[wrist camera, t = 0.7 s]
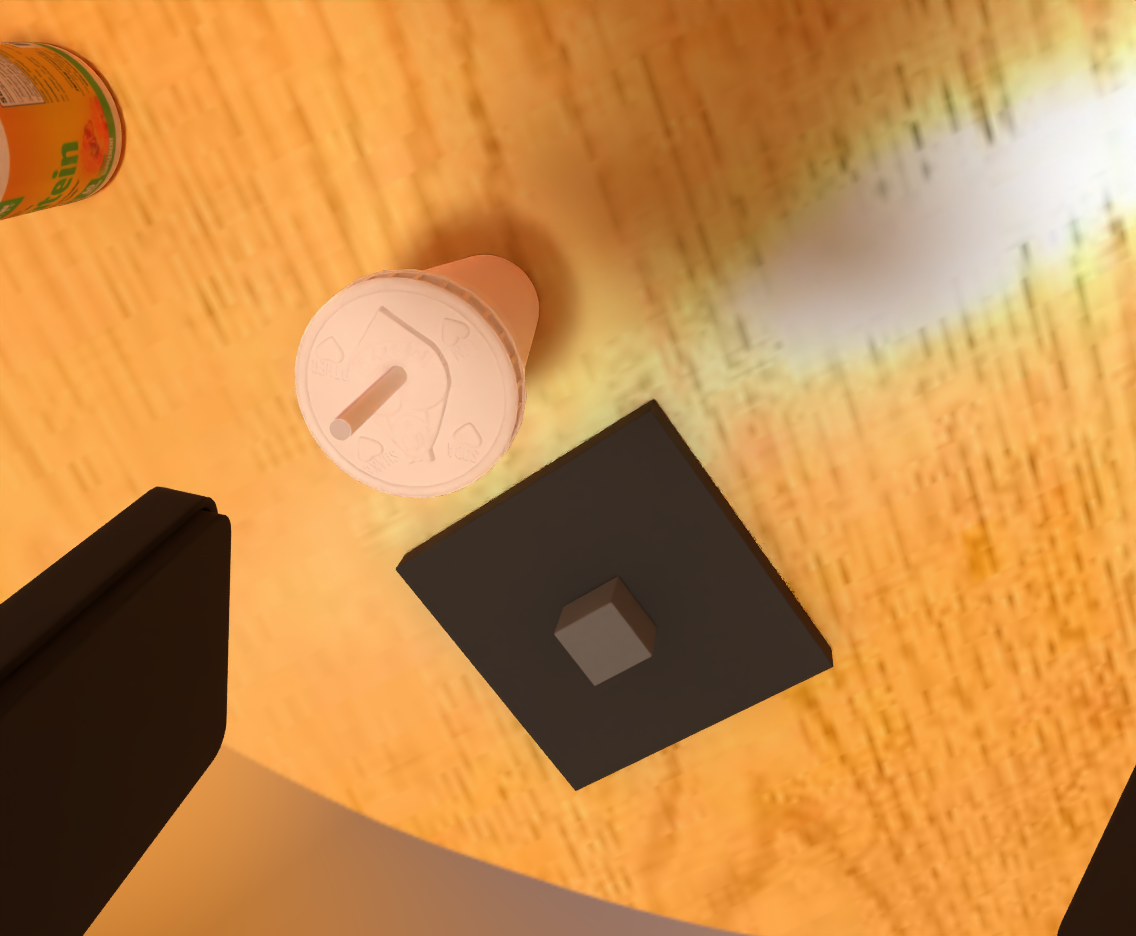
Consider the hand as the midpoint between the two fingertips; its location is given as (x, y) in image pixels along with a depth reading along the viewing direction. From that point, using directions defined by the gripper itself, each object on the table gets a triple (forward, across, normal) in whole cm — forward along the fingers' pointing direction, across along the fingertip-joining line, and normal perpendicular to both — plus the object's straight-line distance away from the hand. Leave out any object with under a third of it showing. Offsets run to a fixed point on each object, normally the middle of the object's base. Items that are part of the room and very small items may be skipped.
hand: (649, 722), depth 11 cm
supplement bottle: (+27, +24, +1) cm, 36 cm away
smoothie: (+27, +8, +4) cm, 28 cm away
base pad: (+27, +1, +15) cm, 31 cm away
